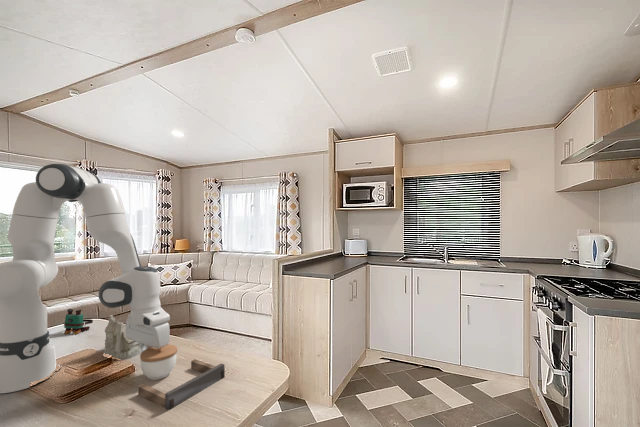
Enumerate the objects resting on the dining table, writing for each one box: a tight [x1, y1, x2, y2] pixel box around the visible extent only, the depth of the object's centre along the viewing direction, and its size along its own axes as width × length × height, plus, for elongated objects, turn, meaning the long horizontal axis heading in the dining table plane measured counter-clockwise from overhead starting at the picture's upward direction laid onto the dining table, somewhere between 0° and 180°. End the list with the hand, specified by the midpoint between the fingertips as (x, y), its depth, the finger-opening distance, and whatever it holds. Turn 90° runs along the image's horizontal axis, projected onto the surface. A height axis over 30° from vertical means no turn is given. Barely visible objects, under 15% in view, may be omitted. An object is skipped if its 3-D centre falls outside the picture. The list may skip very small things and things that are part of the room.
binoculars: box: [63, 308, 94, 335], centre depth 141 cm, size 9×11×10 cm
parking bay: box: [137, 358, 226, 411], centre depth 92 cm, size 14×19×4 cm
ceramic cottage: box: [102, 314, 142, 361], centre depth 119 cm, size 16×16×15 cm
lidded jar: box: [139, 344, 178, 381], centre depth 99 cm, size 11×11×9 cm
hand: (146, 355), depth 103 cm, fingers closed
